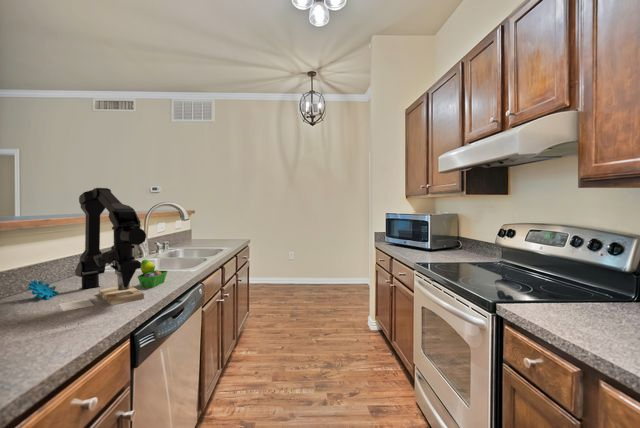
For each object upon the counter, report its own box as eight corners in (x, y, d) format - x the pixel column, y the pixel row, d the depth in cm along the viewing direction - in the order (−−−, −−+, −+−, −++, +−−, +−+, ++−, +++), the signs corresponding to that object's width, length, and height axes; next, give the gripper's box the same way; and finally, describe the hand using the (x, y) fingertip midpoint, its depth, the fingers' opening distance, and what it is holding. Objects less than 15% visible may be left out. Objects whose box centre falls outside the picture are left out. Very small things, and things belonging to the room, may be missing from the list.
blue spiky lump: (46, 300, 105) (24, 280, 104) (31, 313, 104) (9, 293, 103) (67, 295, 116) (48, 277, 115) (54, 307, 115) (35, 288, 114)
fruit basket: (154, 288, 126) (154, 261, 126) (133, 288, 126) (133, 261, 126) (168, 281, 138) (168, 257, 137) (149, 281, 138) (149, 256, 138)
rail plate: (98, 297, 114) (98, 288, 114) (129, 291, 121) (129, 283, 121) (111, 308, 102) (111, 299, 102) (143, 301, 109) (143, 293, 109)
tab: (58, 307, 103) (58, 303, 103) (87, 302, 108) (87, 298, 108) (63, 314, 96) (62, 311, 96) (94, 308, 102) (93, 305, 102)
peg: (113, 289, 109) (113, 269, 108) (129, 286, 112) (129, 267, 112) (117, 292, 105) (116, 272, 105) (134, 289, 109) (133, 269, 109)
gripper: (90, 242, 109) (90, 285, 109) (102, 247, 96) (103, 296, 96) (125, 239, 117) (126, 279, 117) (141, 244, 104) (141, 289, 105)
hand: (123, 285), depth 109 cm, fingers closed on peg, 4 cm apart
